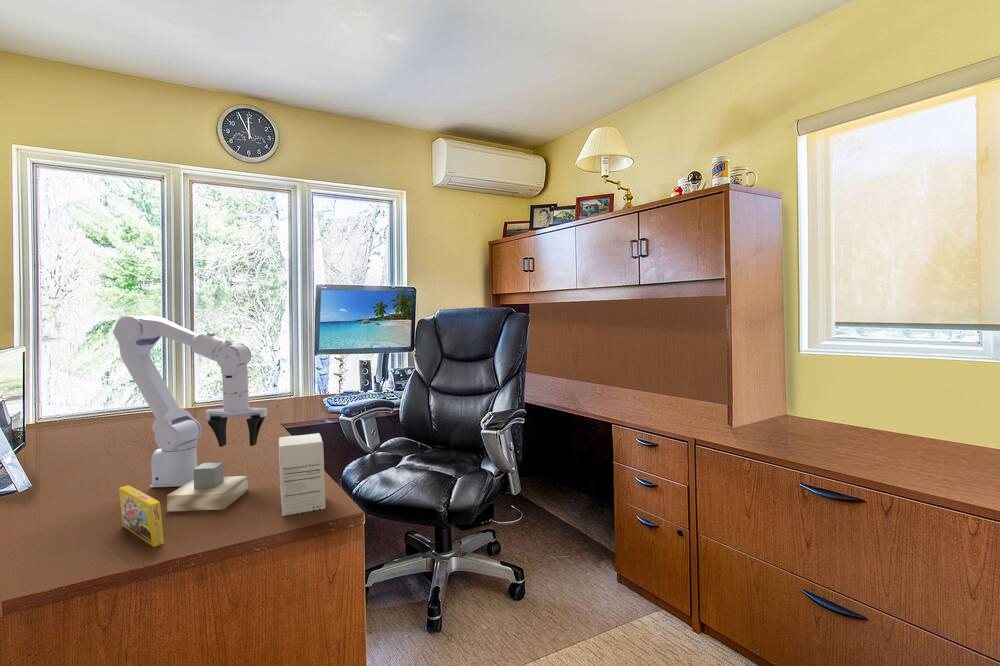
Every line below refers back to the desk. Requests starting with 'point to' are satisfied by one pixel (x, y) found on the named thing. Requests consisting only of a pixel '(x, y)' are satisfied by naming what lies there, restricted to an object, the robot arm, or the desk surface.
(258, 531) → the desk surface
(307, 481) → the supplement box
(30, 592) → the desk surface
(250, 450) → the desk surface
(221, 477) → the slate cube
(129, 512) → the candy box
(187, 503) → the birch block
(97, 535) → the desk surface
